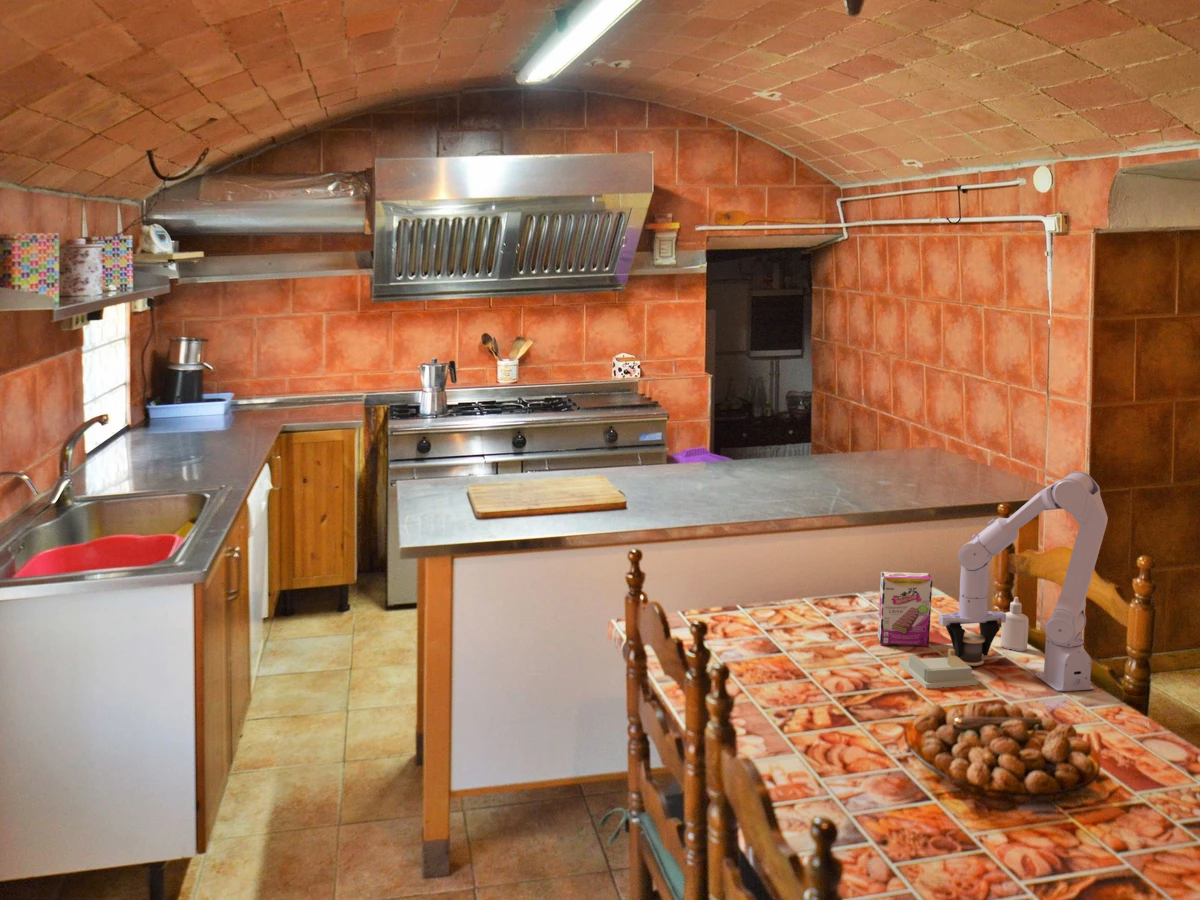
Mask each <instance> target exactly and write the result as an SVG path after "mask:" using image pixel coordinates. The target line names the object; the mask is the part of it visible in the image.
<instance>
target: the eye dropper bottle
mask: <svg viewBox="0 0 1200 900" xmlns="http://www.w3.org/2000/svg"><path fill="white" fill-rule="evenodd" d="M1009 605H1010V606H1009V611H1007V612H1004V613H1005V614H1006V622H1003V623H1002V622H1001V624H1000V625H1001V626H1000V629H1001V631H1000V644H999V645H1000V647H1001V646H1002V647H1001V648H1003V647H1004V648H1003V649H1006V648H1007V649H1006V650H1009V649H1012V650H1011V651H1014V650H1019V651H1018V652H1025V651H1026V650H1028V641H1029V640H1028V639H1029V617H1028V616H1027V615H1026V614H1024V613H1022V603H1021V602H1020V601H1019V597H1018V596H1015V597H1014V599H1013V601H1011V602H1010V604H1009Z"/></svg>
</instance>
